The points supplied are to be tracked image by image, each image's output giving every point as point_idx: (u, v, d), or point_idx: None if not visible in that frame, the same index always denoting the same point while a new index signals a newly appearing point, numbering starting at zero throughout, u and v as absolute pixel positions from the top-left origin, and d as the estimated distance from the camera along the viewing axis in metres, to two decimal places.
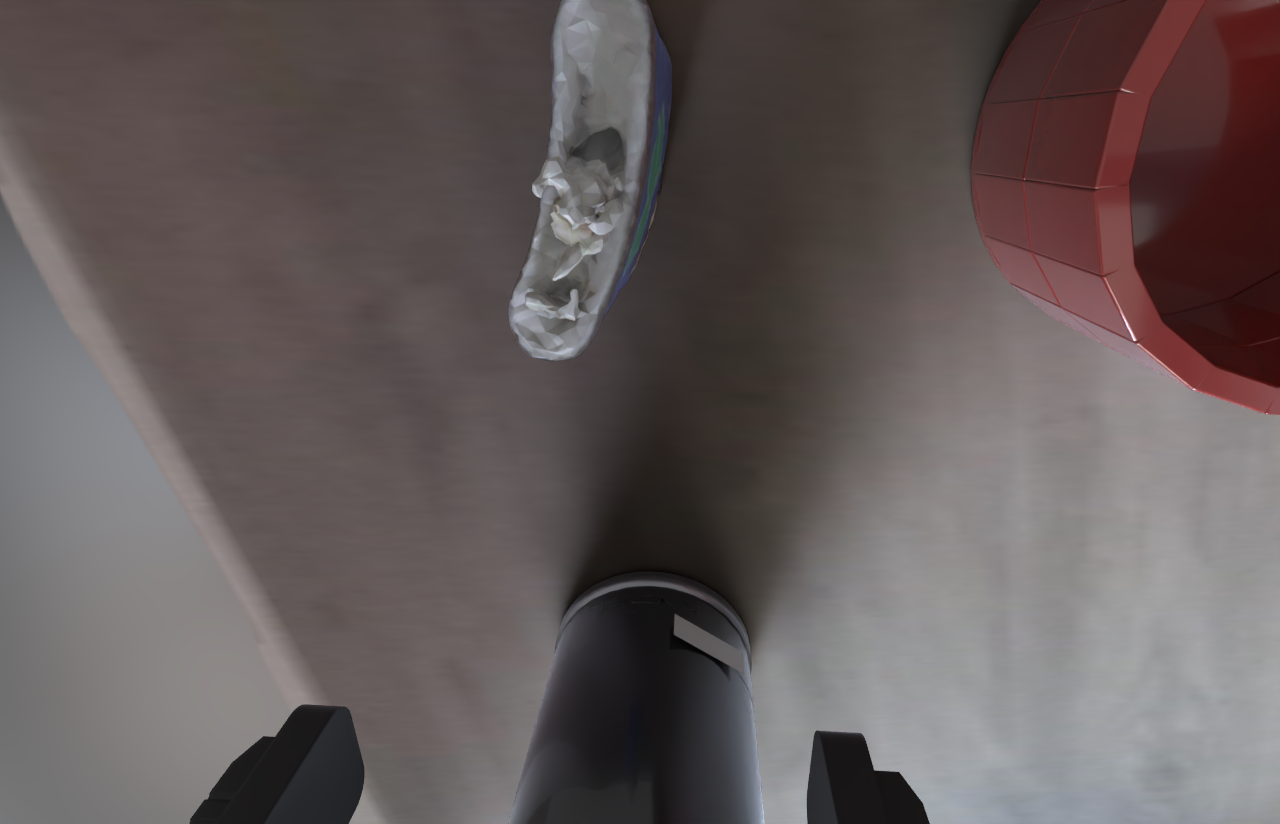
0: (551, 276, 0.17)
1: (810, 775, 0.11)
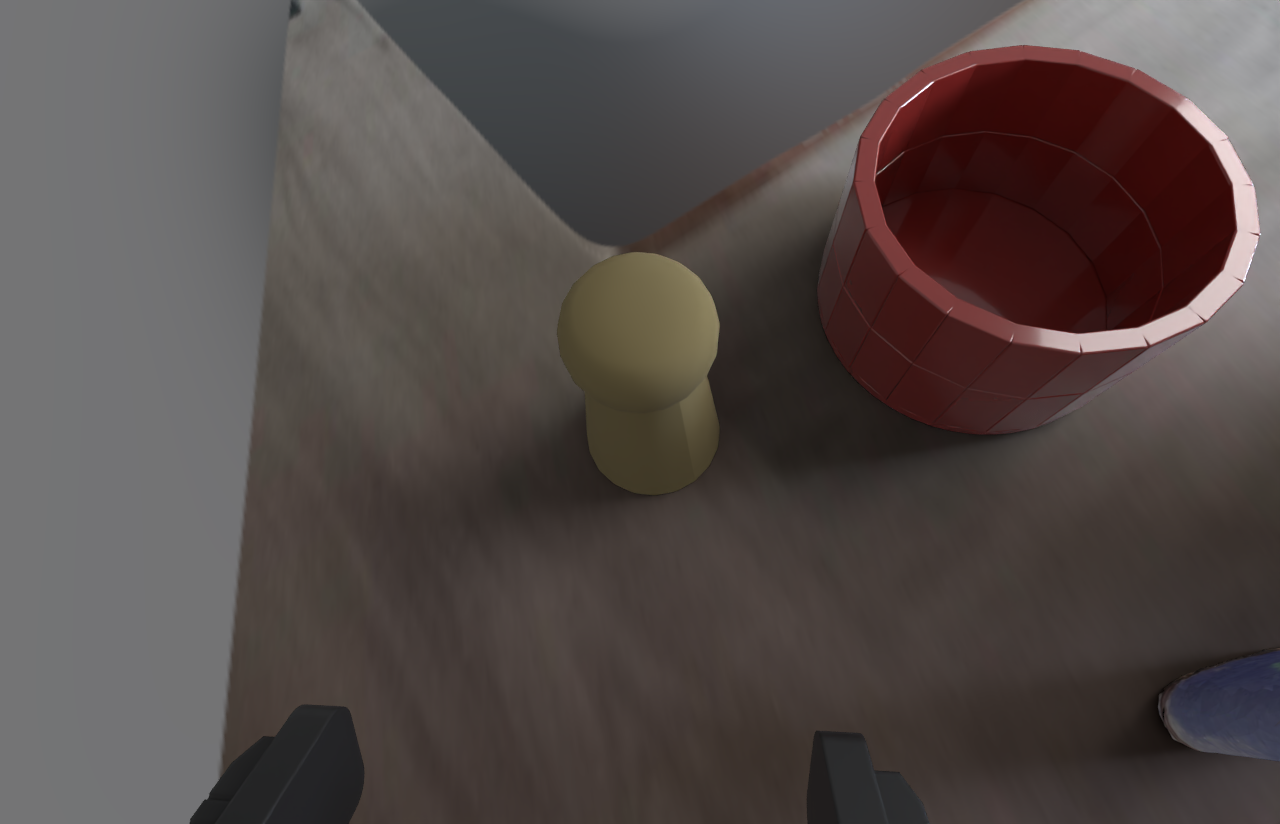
0: None
1: (809, 774, 0.11)
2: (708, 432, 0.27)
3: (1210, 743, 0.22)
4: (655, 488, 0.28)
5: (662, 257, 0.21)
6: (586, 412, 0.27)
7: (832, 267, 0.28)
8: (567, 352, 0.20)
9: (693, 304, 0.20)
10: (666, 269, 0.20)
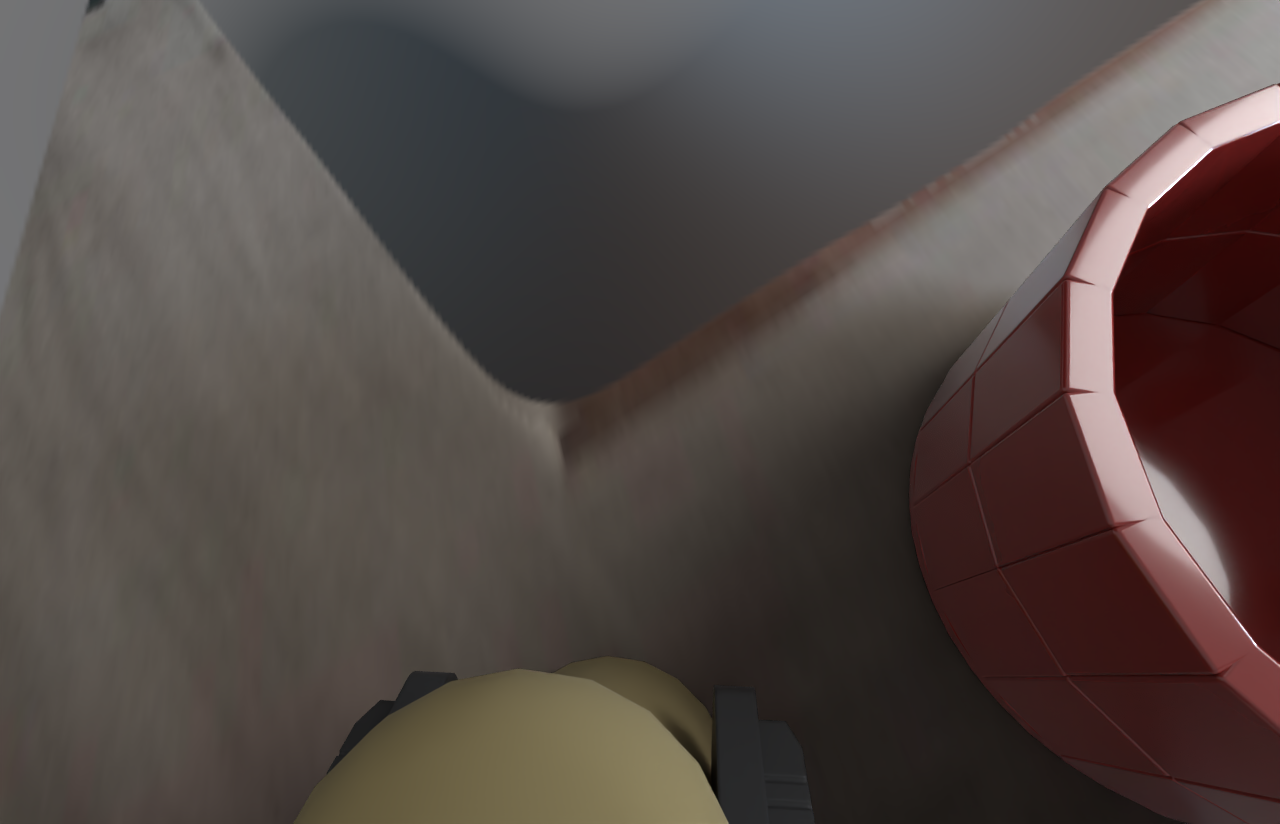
0: None
1: (712, 728, 0.12)
2: None
3: None
4: None
5: (578, 743, 0.06)
6: None
7: (963, 506, 0.14)
8: None
9: None
10: (584, 818, 0.06)
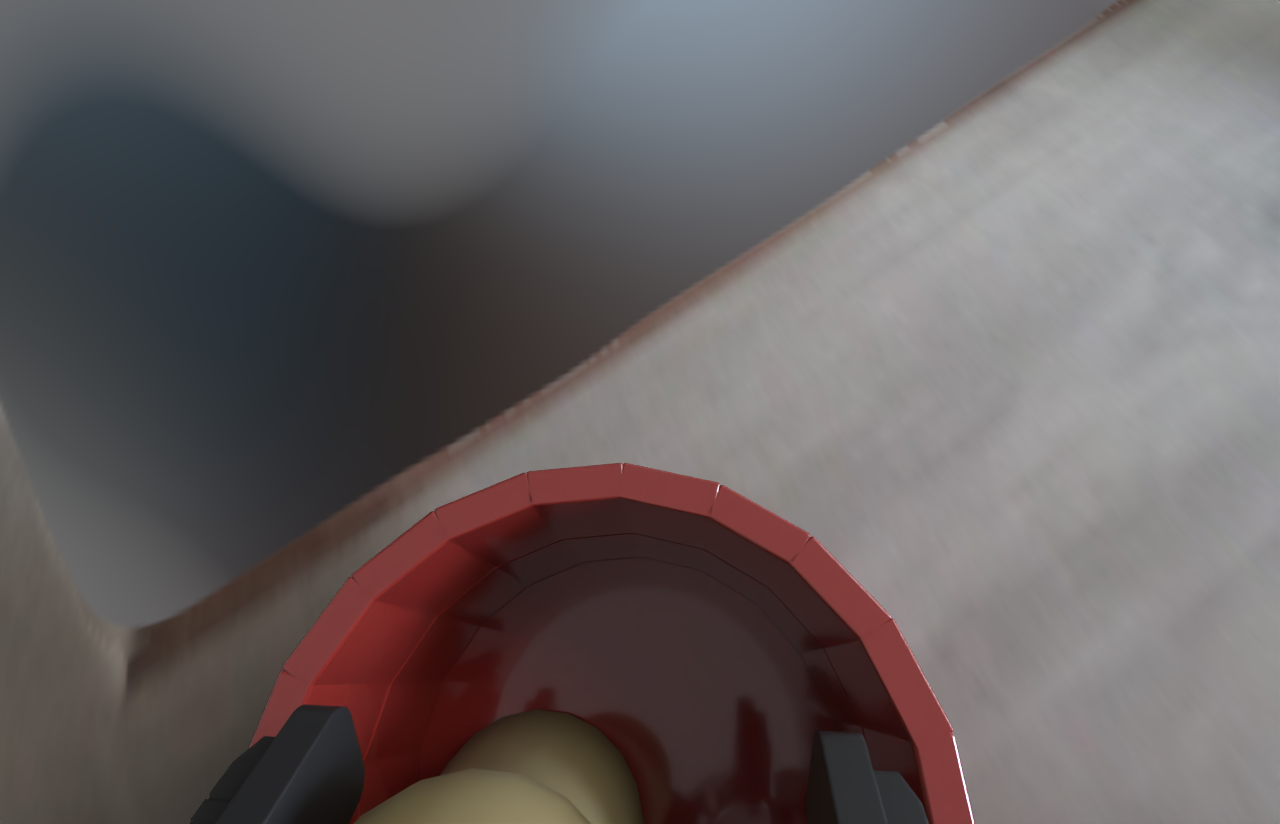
0: None
1: (809, 774, 0.11)
2: None
3: None
4: None
5: None
6: None
7: None
8: None
9: None
10: None
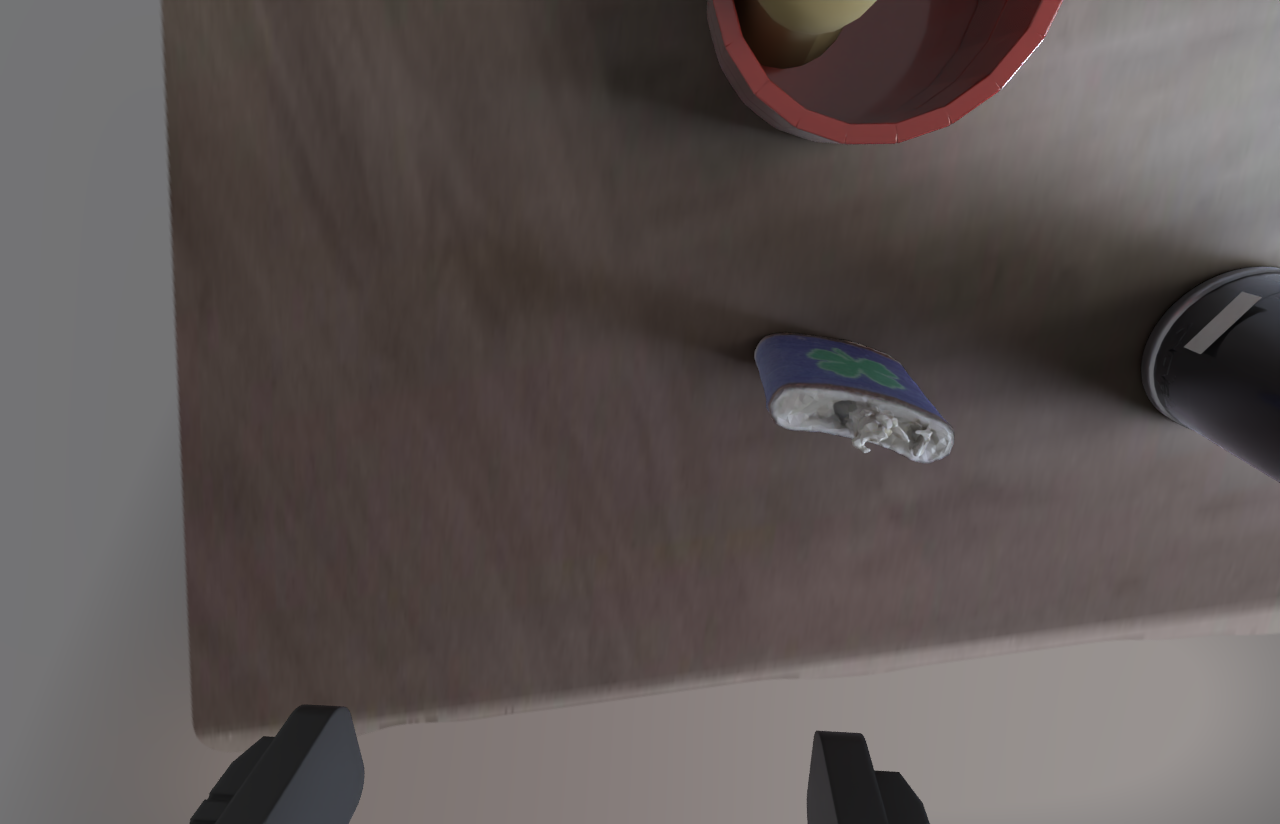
0: None
1: (810, 774, 0.11)
2: (834, 34, 0.30)
3: None
4: (768, 62, 0.32)
5: None
6: None
7: None
8: None
9: None
10: None
